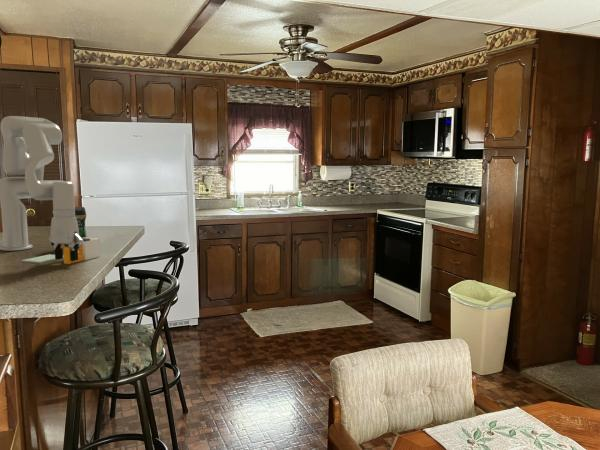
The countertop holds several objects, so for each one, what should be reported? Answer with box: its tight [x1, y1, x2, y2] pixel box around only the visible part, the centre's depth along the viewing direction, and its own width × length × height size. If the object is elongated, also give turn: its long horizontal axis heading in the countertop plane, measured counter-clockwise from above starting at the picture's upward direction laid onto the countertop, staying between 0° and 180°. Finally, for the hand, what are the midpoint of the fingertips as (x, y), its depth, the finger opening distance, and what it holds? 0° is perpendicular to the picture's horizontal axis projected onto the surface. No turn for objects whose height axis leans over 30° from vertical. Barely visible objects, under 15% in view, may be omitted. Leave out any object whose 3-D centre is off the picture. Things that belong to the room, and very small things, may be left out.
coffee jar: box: [63, 206, 88, 247], centre depth 224 cm, size 10×8×19 cm
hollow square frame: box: [69, 237, 101, 261], centre depth 202 cm, size 8×8×8 cm
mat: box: [21, 254, 64, 264], centre depth 198 cm, size 9×13×1 cm
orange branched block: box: [62, 244, 84, 265], centre depth 196 cm, size 12×4×6 cm, turn 165°
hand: (66, 259), depth 193 cm, fingers open, 6 cm apart
